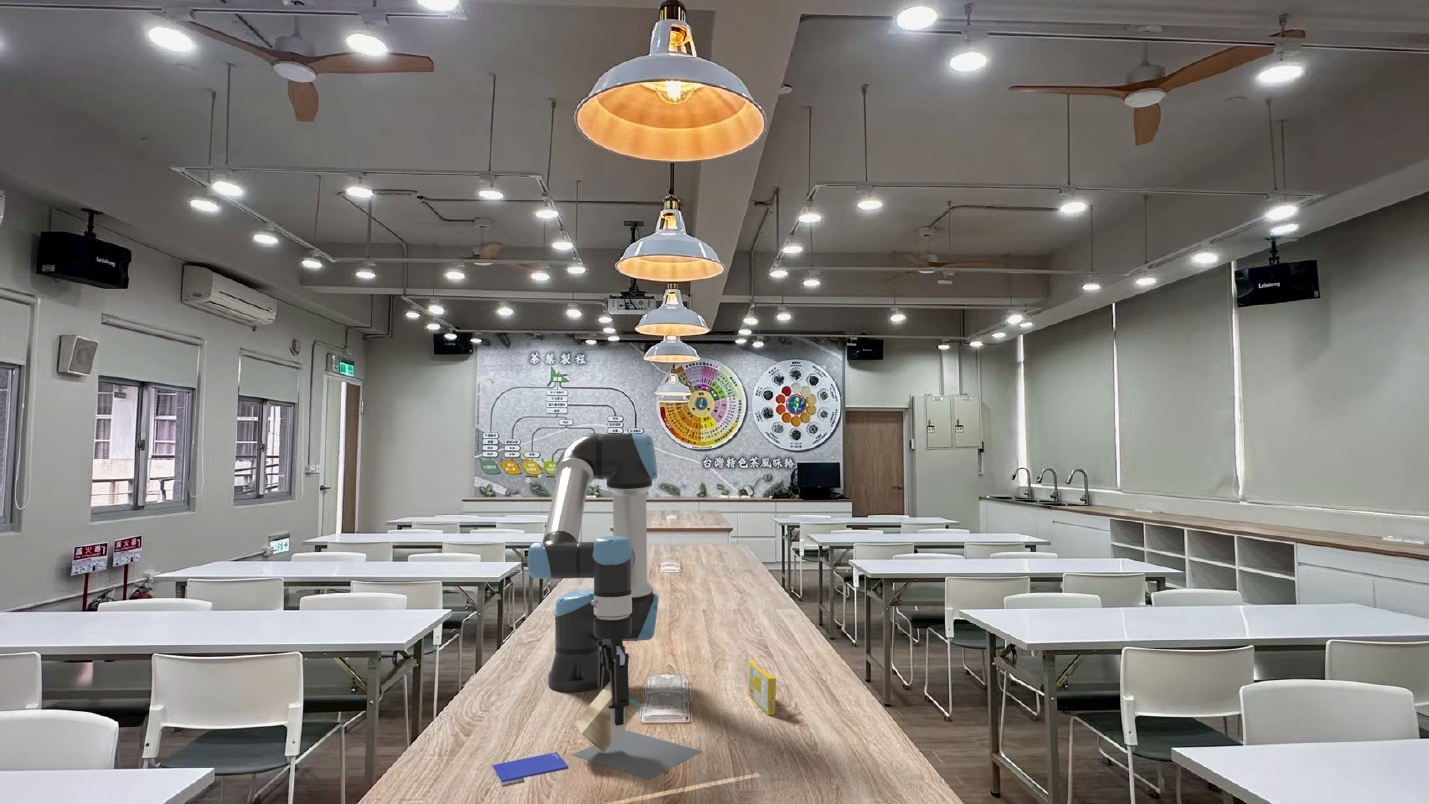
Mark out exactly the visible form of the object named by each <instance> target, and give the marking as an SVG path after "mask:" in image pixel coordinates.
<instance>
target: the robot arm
mask: <svg viewBox="0 0 1429 804" xmlns="http://www.w3.org/2000/svg"><path fill="white" fill-rule="evenodd" d="M655 451H656V450H655V446H654V440H653V438H652V437H651V436H650V435H649V434H647V433H636V432H630V433H629V432H626V433H623V432H622V433H593V434H586V435H584V436H582V437H580V438H578V439H577V440H575V441H573V442H572V443H571V444H570V445H568V447H566V448H565V449H564V451H562V453H561V454H560V456H559V457H558V459H557V462H556V464H555V469H554V478H555V481H556V482H555V487H554V491H553V494H552V499H551V503H550V508H549V513H548V516H547V520H546V524H545V530H544V533H543V538H542V541H539V542H532V543H531V544H530V546H529V548H528V552H527V569H528V574H529V576H530V577H531V578H533V579H542V580H543V579H544V580H557V579H558V580H560V579H593V588H589V589H588V588H587V589H581V590H579V589H578V590H575V591H571V592H567V593H564V594H563V595H560V596H559V597H558V598H557V599H556V601H555V613H554V619H555V620H554V621H555V622H554V623H555V625H554V626H555V628H554V629H555V630H554V631H555V633H554V634H555V636H554V637H555V639H554V640H555V644H554V645H555V648H554V649H555V654H554V658H553V661H552V665H551V669H550V672H549V673H548V677H547V681H548V682H547V683H548V687H549V688H550V689H552V690H554V691H561V692H582V691H583V692H584V691H585V692H586V691H590V690H594V689H598V691H599V693H600V692H601V691H602V690H603V689H604V688H605V686H606V685H607V684H608V683H609V682H610V684H611V696H612V705H610V706H609V709H610V741H611V743H613V742H619V741H625V731H626V726H625V707H626V706H629V694H630V692H629V691H630V688H629V687H630V686H629V661H630V660H629V658H630V654H629V653H626V648H625V645H624V642H635V643H637V642H640V641H641V642H642V641H649V640H651V639H653V637H654V636H655V632H656V625H657V616H658V606H659V598H660V597H659V594H657V593H654V587H653V586H652V584H650V583H649V582H648V541H647V540H648V537H647V535H648V534H647V533H648V532H647V525H648V523H647V493H648V492H647V491H648V490H649V489H651V487H652V486H653V480H656V479H657V478H658V467H657V457H656V452H655ZM593 480H606V488H607V489H608V490H610V492H611V493H612V521H613V522H612V526H613V527H612V528H613V530H612V531H613V534H612V535H610V536H609V535H607V536H601V537H597V538H596V539H595V540H594V541H579V538H580V532H581V527H582V526H581V525H582V522H583V514H584V511H585V510H584V509H585V505H586V503H585V502H586V498H587V493H588V487H589V486H590V485H591V483H592V482H593Z"/></svg>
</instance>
